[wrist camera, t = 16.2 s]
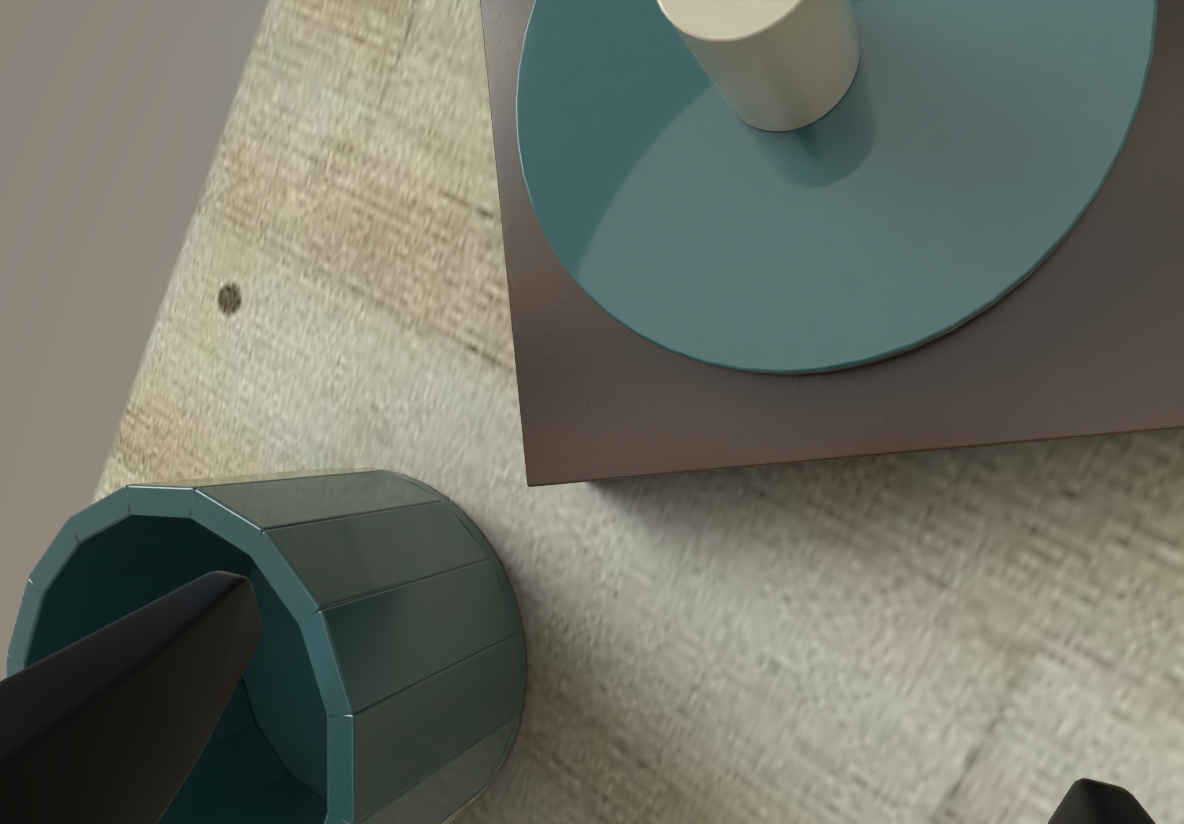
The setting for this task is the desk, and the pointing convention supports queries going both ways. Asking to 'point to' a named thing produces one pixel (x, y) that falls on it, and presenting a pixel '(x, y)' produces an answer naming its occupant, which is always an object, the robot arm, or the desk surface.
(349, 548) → the jar
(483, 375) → the desk surface
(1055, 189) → the lid
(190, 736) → the robot arm
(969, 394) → the board
